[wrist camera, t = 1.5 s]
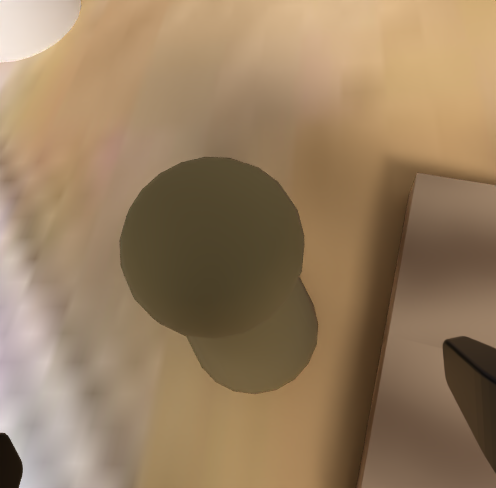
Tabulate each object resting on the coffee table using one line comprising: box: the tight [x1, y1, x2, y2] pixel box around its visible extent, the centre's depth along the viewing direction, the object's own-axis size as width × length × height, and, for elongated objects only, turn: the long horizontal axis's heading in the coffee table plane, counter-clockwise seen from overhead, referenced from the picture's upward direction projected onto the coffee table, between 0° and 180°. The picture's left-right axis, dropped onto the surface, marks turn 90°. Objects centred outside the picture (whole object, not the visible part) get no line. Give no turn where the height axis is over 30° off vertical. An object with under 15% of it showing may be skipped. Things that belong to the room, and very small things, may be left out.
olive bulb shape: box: [120, 157, 318, 394], centre depth 16 cm, size 6×6×11 cm
